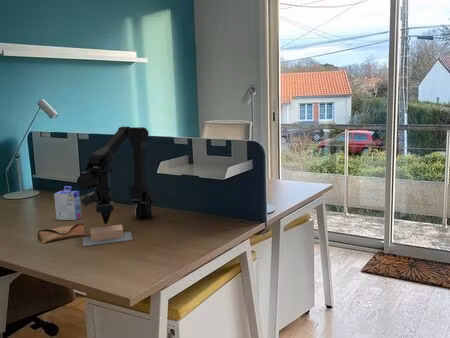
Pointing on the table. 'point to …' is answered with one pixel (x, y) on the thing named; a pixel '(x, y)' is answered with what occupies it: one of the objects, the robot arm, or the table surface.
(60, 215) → the ink cartridge box
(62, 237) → the sunglasses case
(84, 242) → the mat
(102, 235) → the beige rectangular block
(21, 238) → the table surface
